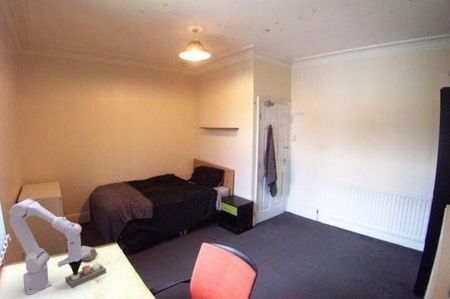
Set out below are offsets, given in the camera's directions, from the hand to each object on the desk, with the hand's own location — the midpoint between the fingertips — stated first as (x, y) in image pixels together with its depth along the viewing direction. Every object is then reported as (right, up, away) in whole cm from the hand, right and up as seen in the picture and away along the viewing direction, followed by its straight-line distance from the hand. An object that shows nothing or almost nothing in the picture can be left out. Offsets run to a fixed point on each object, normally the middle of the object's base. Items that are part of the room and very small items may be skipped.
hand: (75, 274), depth 126 cm
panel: (+3, -4, +4) cm, 7 cm away
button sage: (+6, -3, +8) cm, 11 cm away
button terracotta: (+3, -2, +4) cm, 6 cm away
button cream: (0, -4, 0) cm, 4 cm away
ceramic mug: (-6, -2, +24) cm, 25 cm away
